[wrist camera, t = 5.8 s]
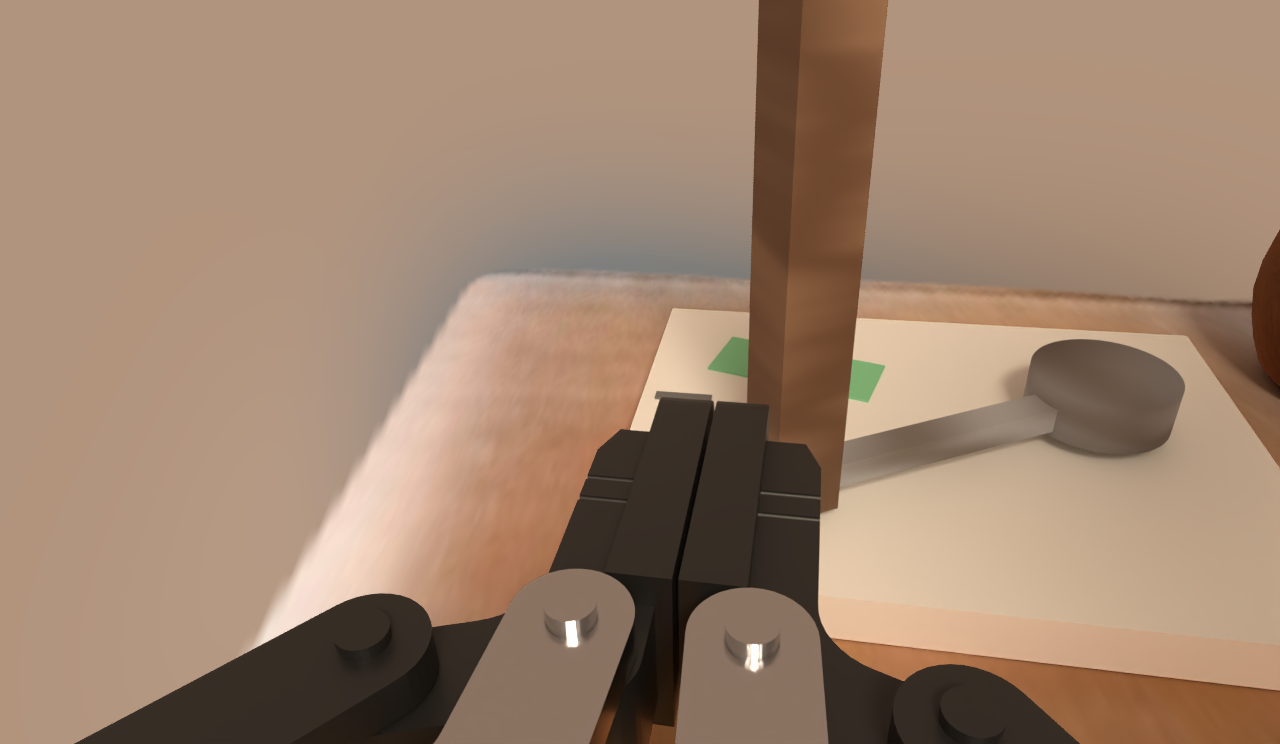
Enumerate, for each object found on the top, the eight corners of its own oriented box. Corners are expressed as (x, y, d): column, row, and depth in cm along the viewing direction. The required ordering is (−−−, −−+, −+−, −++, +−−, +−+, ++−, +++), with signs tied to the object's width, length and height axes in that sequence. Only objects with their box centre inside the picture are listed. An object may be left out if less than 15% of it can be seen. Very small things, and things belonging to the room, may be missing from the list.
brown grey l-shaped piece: (1097, 372, 31) (1236, -156, 23) (1203, 438, 28) (1412, -160, 20) (697, 469, 27) (696, -129, 19) (760, 561, 24) (791, -127, 15)
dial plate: (1176, 369, 35) (1187, 333, 34) (1389, 703, 21) (1416, 657, 21) (673, 339, 38) (672, 306, 38) (584, 608, 25) (580, 566, 24)
